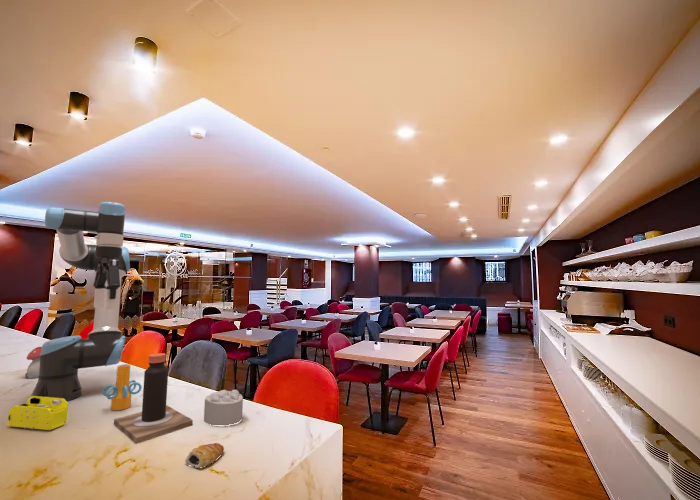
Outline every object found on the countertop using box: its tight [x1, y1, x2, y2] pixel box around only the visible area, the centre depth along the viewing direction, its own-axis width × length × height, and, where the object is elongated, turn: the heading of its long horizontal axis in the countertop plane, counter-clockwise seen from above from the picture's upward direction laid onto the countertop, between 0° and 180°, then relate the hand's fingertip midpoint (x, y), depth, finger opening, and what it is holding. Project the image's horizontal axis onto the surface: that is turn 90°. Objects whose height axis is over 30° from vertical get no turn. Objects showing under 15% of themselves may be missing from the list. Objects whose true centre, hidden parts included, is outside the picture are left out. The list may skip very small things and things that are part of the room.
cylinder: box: [101, 363, 142, 411], centre depth 120 cm, size 12×10×15 cm
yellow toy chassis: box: [7, 395, 69, 431], centre depth 104 cm, size 16×6×8 cm, turn 81°
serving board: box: [113, 404, 194, 444], centre depth 106 cm, size 20×16×2 cm
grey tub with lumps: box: [203, 389, 244, 426], centre depth 110 cm, size 10×13×9 cm
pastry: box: [185, 442, 225, 469], centre depth 86 cm, size 9×7×4 cm
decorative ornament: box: [24, 346, 42, 379], centre depth 158 cm, size 9×6×15 cm
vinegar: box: [141, 352, 169, 422], centre depth 107 cm, size 7×7×20 cm
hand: (104, 308), depth 112 cm, fingers open, 13 cm apart
